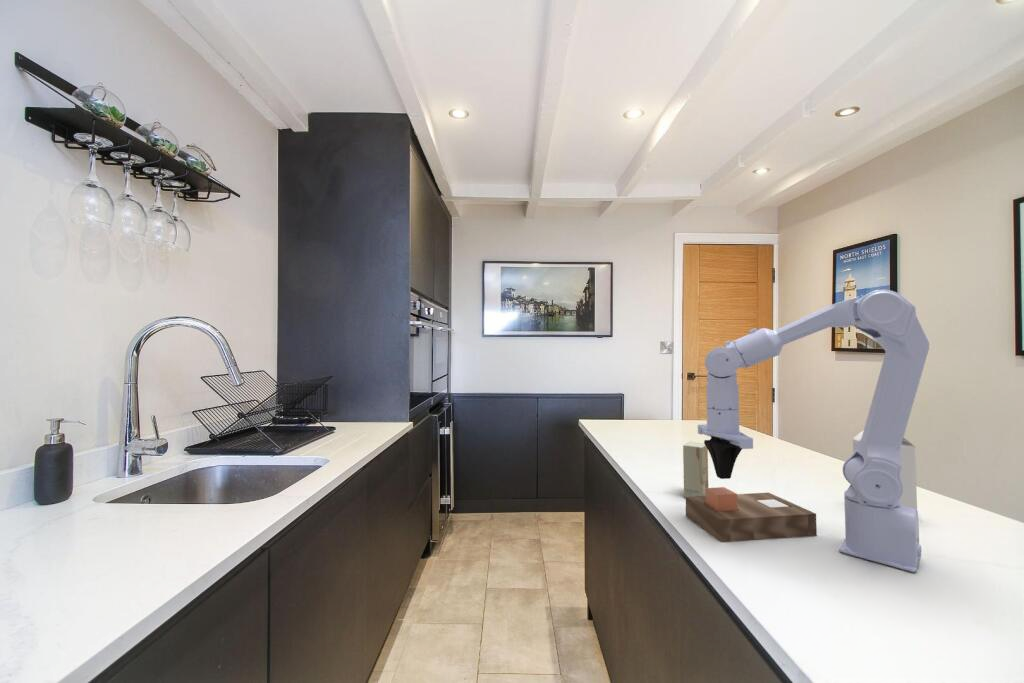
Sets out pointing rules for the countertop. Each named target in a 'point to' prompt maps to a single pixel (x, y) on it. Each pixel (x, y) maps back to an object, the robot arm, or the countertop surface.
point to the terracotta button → (721, 499)
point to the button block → (752, 519)
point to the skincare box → (695, 469)
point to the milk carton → (903, 471)
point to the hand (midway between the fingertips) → (723, 477)
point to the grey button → (772, 503)
